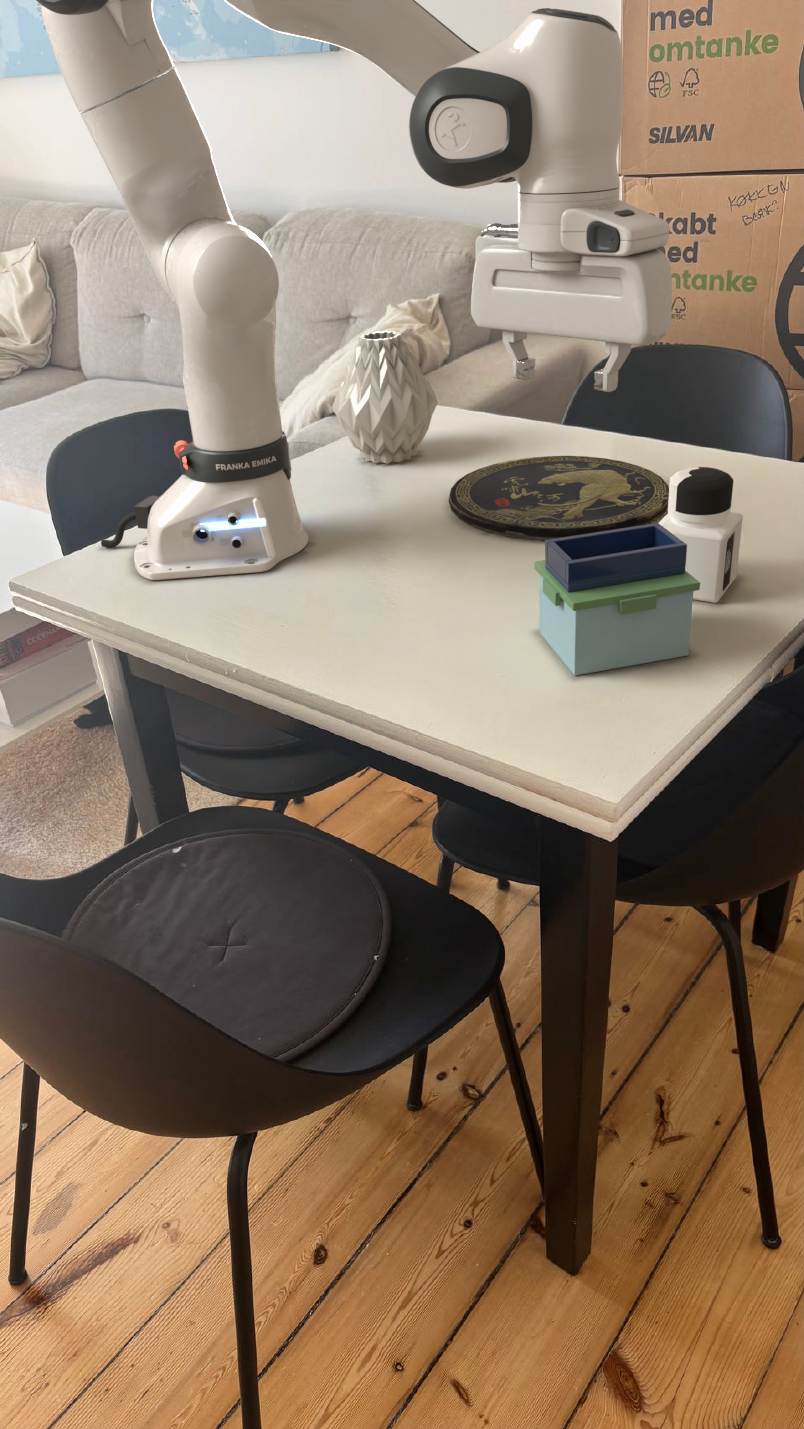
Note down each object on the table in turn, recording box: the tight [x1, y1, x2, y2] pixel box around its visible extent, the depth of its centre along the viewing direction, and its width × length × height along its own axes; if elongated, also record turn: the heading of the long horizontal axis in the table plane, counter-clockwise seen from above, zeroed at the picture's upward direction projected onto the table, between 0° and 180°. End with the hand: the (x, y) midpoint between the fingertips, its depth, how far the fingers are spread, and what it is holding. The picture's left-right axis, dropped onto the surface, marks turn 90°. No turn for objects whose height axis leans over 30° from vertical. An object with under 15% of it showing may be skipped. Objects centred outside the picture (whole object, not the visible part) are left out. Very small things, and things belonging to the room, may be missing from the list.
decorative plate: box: [448, 455, 669, 541], centre depth 144 cm, size 30×2×30 cm
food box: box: [533, 559, 700, 676], centre depth 106 cm, size 14×12×8 cm
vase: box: [331, 330, 439, 465], centre depth 162 cm, size 16×16×18 cm
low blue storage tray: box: [544, 522, 687, 592], centre depth 103 cm, size 12×6×3 cm, turn 103°
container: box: [658, 466, 744, 604], centre depth 115 cm, size 8×8×13 cm
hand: (563, 384), depth 101 cm, fingers open, 8 cm apart
